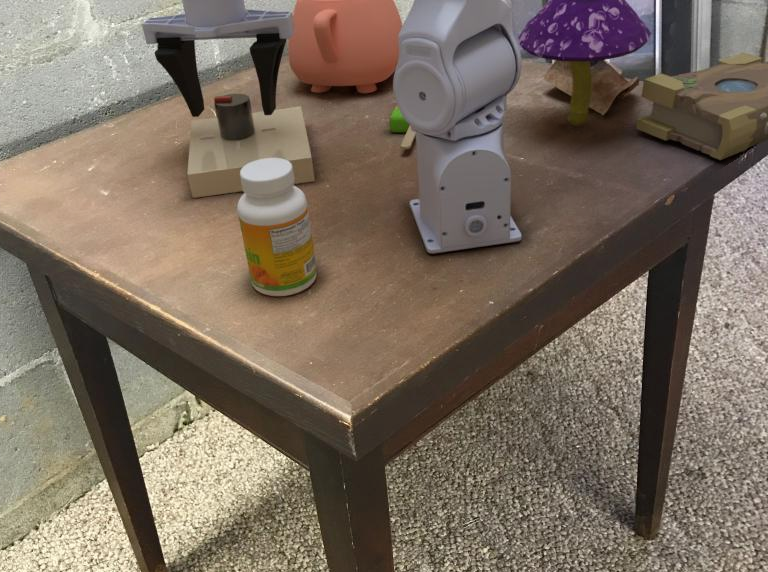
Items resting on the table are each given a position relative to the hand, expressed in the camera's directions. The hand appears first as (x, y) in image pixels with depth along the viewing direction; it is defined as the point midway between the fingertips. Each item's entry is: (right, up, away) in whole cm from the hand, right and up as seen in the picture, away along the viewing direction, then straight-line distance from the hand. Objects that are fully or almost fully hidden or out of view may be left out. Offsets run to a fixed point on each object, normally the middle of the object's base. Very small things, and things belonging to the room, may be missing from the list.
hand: (234, 112), depth 89 cm
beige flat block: (+2, -4, +2) cm, 5 cm away
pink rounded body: (+12, +10, +19) cm, 25 cm away
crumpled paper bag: (+36, +6, +3) cm, 36 cm away
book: (+50, -2, -2) cm, 50 cm away
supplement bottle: (+7, -20, -17) cm, 27 cm away
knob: (0, -2, +1) cm, 2 cm away
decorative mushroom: (+35, -1, +1) cm, 35 cm away
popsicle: (+19, 0, +5) cm, 20 cm away
